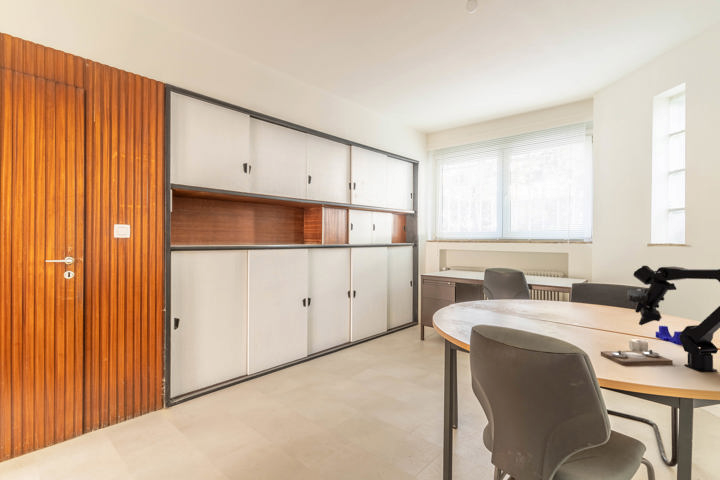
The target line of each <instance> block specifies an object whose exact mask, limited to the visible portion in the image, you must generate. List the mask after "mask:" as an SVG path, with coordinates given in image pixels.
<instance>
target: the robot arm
mask: <svg viewBox="0 0 720 480" xmlns="http://www.w3.org/2000/svg"><path fill="white" fill-rule="evenodd" d="M633 277H634V278H635V279H637V280H639V281H640V282H641V283H643V284H644V285H646V286H647V285H649V287H648V288H647V287H646V288H644V289H642V288H638V289H628V290H627V293H626V295H627V296H626V297H627V300H628V301H629V302H632V303H636V306H635V311H634V312H635V313H637V314H639V313H640V315H641V317H640V319H639V321H638V325H639V326H643V325H646V324H649V323H651V322H654V321H656V322H660V321H661V320H662V318H663V317H662V315H661V313H660V311H659V310H658V309H659V307H660V305H659V304H660V302H661V301H662V302H663V301H665V295H666V294H667V292H668V291H676V290H677V287H676V285H675V283H673V282H672V281H681V280H687V279H690V280H692V279H693V280H694V279H695V280H696V279H697V280H717V281H718V282H719V283H720V268H711V269H710V268H709V269H705V268H704V269H701V268H700V269H698V268H696V269H695V268H694V269H693V268H691V269H689V268H685V267H678V266H660V267H658V268H657V269H656V270H653V269H652V268H650V267H649V266H648V265H642V266H641V267H639V268H638V269H636V270H635V271H634V273H633ZM669 281H671V282H672V283H671V282H669ZM655 308H657V309H655ZM719 329H720V305H719V306H717V307H716V308H715V310H713V311H712V312H711V313H710V314H709V315H708V316H707V317H706V318H704V319H703V321H701V322H700V323H699V324H697V325H694V324H693V325H687V326H685V328H684V329H683V330H681V331H679V332H680V333H682V334H680V336H679V338H680V341H681V343H682V345H681V346H682V348H683V350H684V352H685V353H687V363H685V364H684V366H685V367H688V368H691V369H693V370H695V371H698V372H702V373H703V372H706V373H707V372H710V373H711V372H712V373H713V372H718V369H717V368H714V355H713V354H715V355H716V354H718V351H719V348H718V347H717V346H716V345H715V344H714V343H713V340H714V339H713V338H714V335H715V334H714V333H716V332H717V331H718V330H719Z"/></svg>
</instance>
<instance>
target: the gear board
mask: <svg viewBox="0 0 720 480" xmlns="http://www.w3.org/2000/svg"><path fill="white" fill-rule="evenodd" d="M620 351H621V352H622V353H625V354H627V358H617V357H614V356H612V353H611V352H618V350H609V351H605V350H604V351H603V350H602V351H600V356H602V357H604V358H606V359H609V360H611V361H613V362H615V363H617V364H619V365H622V366H650V365H651V366H652V365H653V366H656V365H657V366H658V365H673V364H674V363H673V362H674V361H673V360H672V359H669V358H667V357H664V356H661V355H659V357H658V358H653V357H648V356H644V355H643V351H646V350H643V351H634V350H633V351H632V350H620Z"/></svg>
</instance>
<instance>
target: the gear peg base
mask: <svg viewBox="0 0 720 480" xmlns="http://www.w3.org/2000/svg"><path fill="white" fill-rule="evenodd" d="M617 351H618V352H611V353H612V356H614V357H617V358H627V354H625V353H622V352H621V351H622V350H617ZM643 355H644V356H648V357H653V358H658V357H659V356H660V353H659V352H655V351H653V350H652V349H648V351H643Z"/></svg>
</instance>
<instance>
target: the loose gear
mask: <svg viewBox="0 0 720 480" xmlns="http://www.w3.org/2000/svg"><path fill="white" fill-rule="evenodd" d="M628 340H629V342H628V343H629V344H628V346H629V350H630V351H643V350H646V351H649V342H647V340H643V339H639V338H638V339H635V338H632V339H628Z"/></svg>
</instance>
